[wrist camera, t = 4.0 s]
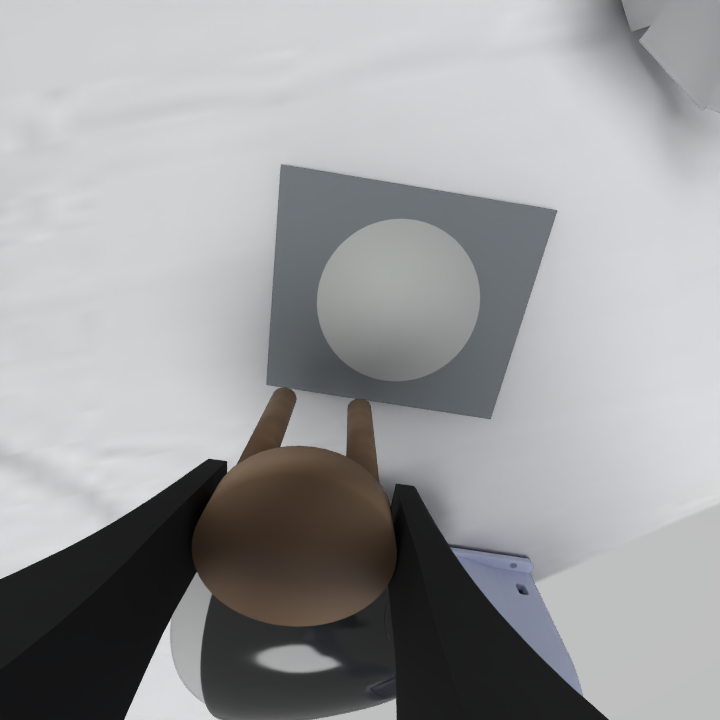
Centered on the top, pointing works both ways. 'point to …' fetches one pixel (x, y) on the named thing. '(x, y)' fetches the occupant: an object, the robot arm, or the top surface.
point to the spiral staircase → (683, 43)
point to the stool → (298, 525)
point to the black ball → (282, 660)
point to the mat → (399, 290)
